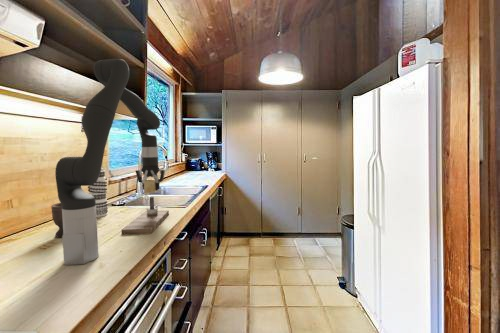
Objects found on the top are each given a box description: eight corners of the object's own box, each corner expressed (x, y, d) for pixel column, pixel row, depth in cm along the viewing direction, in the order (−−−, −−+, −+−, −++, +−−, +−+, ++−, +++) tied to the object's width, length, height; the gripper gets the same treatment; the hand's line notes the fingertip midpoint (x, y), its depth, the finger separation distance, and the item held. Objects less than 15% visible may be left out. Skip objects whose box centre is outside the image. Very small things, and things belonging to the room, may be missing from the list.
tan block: (147, 191, 137) (147, 179, 136) (158, 191, 137) (157, 179, 137) (140, 195, 126) (139, 182, 125) (151, 195, 126) (151, 182, 125)
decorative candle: (92, 213, 147) (89, 167, 145) (110, 212, 150) (108, 167, 148) (86, 217, 139) (83, 169, 137) (106, 216, 141) (103, 168, 139)
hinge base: (151, 233, 113) (150, 207, 112) (121, 234, 112) (120, 208, 111) (168, 214, 145) (168, 193, 144) (145, 214, 144) (145, 194, 143)
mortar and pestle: (90, 231, 116) (87, 185, 115) (79, 238, 108) (76, 188, 106) (61, 232, 115) (58, 186, 114) (48, 239, 107) (45, 189, 105)
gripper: (132, 156, 129) (133, 192, 130) (162, 156, 130) (164, 191, 131) (137, 156, 136) (139, 189, 137) (166, 155, 137) (167, 188, 138)
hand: (151, 190), depth 134 cm, fingers closed on tan block, 5 cm apart
